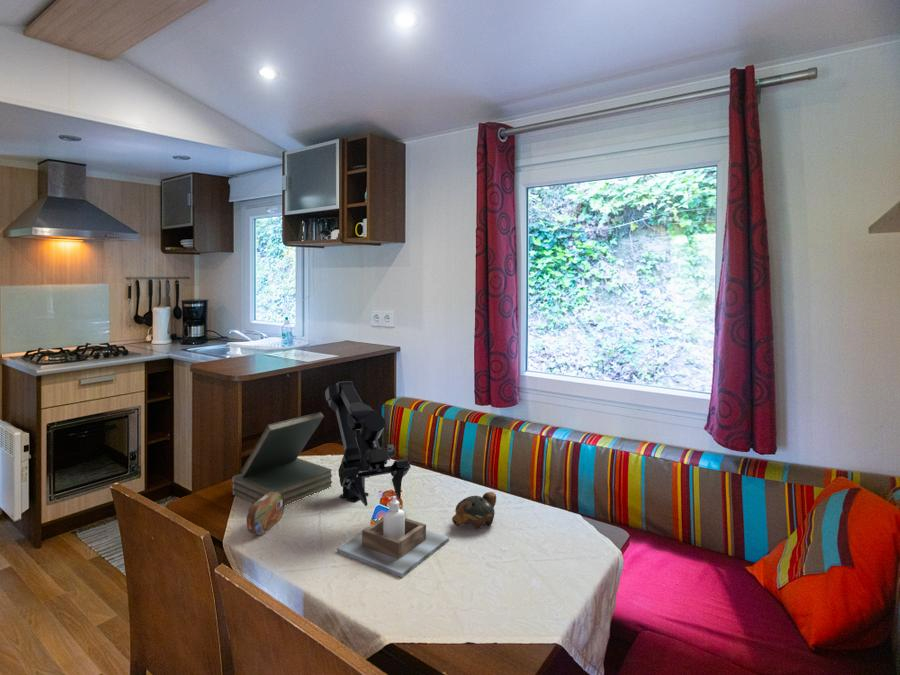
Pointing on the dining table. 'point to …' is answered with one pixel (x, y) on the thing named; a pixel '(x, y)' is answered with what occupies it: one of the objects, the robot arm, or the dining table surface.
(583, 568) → the dining table surface
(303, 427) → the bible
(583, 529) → the dining table surface
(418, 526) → the box
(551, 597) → the dining table surface
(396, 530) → the eye dropper bottle
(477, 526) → the decorative turtle
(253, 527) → the tin
